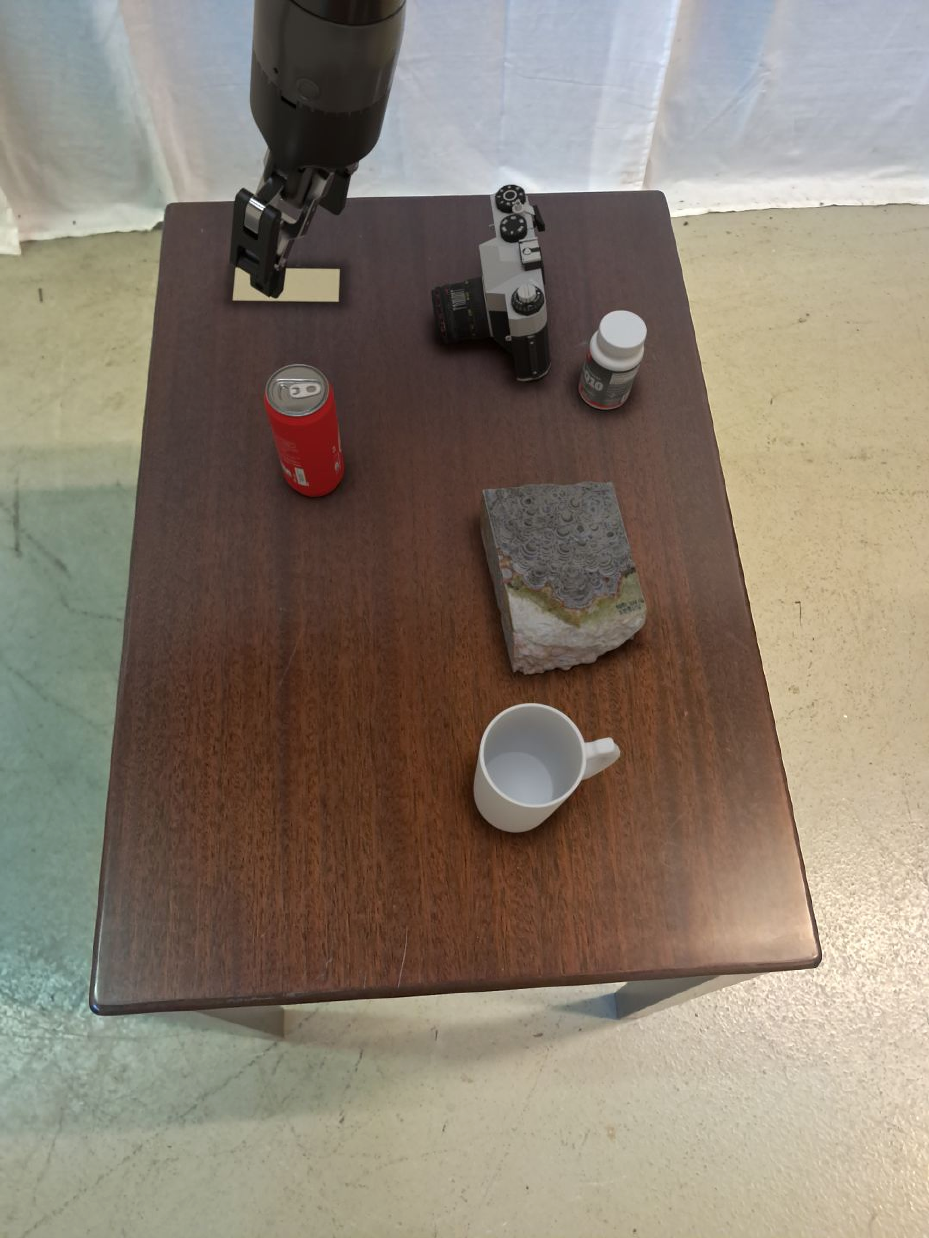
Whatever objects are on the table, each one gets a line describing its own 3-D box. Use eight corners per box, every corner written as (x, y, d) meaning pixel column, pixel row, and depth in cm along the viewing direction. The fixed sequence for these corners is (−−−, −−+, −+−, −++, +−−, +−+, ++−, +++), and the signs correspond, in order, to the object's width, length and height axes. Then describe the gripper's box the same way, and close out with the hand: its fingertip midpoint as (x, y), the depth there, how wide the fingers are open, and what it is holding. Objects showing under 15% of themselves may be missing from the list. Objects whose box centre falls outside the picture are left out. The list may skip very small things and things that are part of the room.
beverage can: (282, 454, 76) (258, 365, 65) (341, 446, 77) (327, 357, 66) (288, 505, 74) (265, 422, 63) (349, 496, 75) (336, 414, 64)
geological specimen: (608, 465, 71) (659, 628, 65) (593, 506, 77) (639, 660, 71) (481, 481, 70) (521, 650, 64) (475, 522, 75) (512, 680, 69)
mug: (478, 843, 64) (490, 816, 53) (462, 755, 67) (470, 711, 56) (609, 820, 65) (647, 788, 54) (588, 734, 68) (621, 687, 57)
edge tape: (232, 301, 82) (232, 300, 82) (235, 268, 84) (235, 267, 84) (338, 302, 83) (338, 301, 83) (339, 270, 84) (339, 269, 84)
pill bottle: (569, 377, 81) (585, 314, 73) (615, 364, 82) (635, 300, 74) (590, 417, 79) (608, 357, 72) (637, 403, 80) (660, 342, 72)
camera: (435, 275, 86) (415, 193, 77) (542, 254, 85) (536, 169, 76) (448, 396, 81) (429, 324, 72) (564, 376, 80) (559, 300, 71)
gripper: (330, -69, 48) (302, 152, 63) (187, 89, 43) (194, 288, 58) (447, 11, 49) (391, 209, 64) (320, 175, 44) (293, 348, 59)
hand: (297, 246), depth 61 cm, fingers open, 8 cm apart
